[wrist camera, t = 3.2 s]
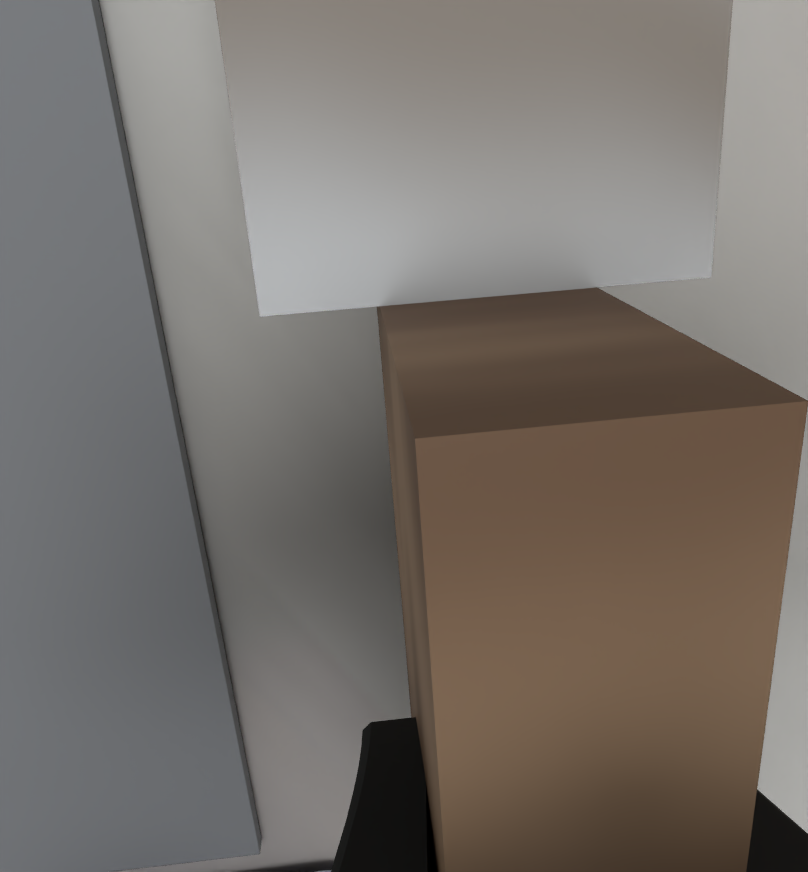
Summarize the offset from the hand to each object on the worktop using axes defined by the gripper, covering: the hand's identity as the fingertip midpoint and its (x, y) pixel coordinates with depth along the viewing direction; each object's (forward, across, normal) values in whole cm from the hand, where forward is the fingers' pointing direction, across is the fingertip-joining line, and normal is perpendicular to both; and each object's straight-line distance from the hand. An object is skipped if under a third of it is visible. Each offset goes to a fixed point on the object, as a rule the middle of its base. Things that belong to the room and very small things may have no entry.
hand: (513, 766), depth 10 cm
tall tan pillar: (+2, 0, -2) cm, 3 cm away
